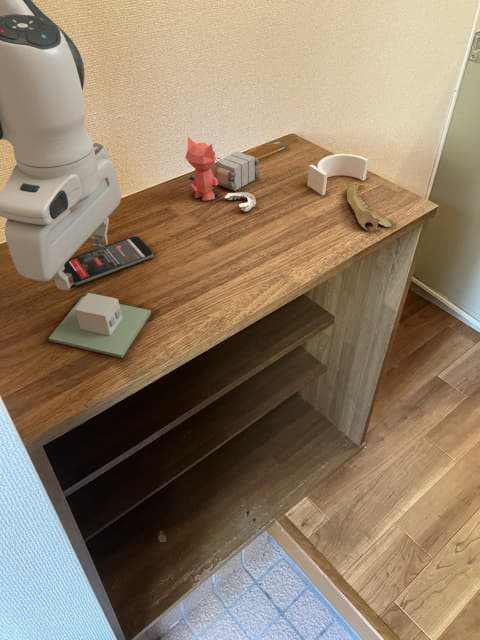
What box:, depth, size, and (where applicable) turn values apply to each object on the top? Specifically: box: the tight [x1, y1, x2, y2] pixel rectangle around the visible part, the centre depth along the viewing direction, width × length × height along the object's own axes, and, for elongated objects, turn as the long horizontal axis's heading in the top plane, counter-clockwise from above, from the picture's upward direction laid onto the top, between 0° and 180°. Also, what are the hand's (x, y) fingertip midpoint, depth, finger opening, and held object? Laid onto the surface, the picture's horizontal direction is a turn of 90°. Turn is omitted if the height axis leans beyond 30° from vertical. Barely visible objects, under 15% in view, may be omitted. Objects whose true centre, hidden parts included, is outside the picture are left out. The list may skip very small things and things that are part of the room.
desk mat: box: [48, 295, 152, 359], centre depth 79 cm, size 12×10×1 cm
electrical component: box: [215, 141, 286, 192], centre depth 114 cm, size 24×6×5 cm, turn 140°
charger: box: [75, 292, 122, 336], centre depth 77 cm, size 5×4×4 cm
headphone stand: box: [306, 153, 370, 196], centre depth 110 cm, size 5×6×12 cm
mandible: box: [346, 183, 392, 232], centre depth 103 cm, size 6×17×3 cm, turn 11°
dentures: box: [224, 191, 257, 213], centre depth 105 cm, size 7×5×2 cm
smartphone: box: [62, 235, 154, 287], centre depth 91 cm, size 7×1×15 cm
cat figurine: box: [185, 136, 223, 201], centre depth 103 cm, size 7×7×12 cm
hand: (84, 265), depth 72 cm, fingers open, 8 cm apart
